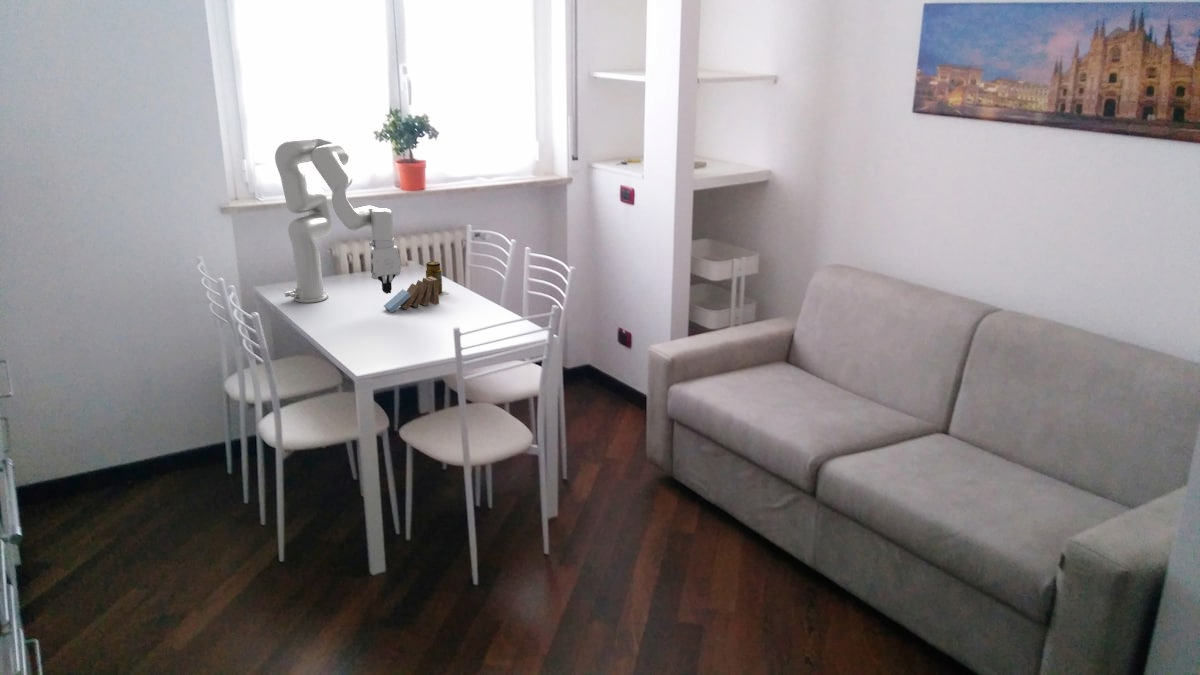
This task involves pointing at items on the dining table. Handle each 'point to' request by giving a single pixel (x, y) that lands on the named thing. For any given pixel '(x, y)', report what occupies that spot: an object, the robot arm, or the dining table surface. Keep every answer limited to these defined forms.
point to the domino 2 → (413, 292)
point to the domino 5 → (434, 291)
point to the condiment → (435, 274)
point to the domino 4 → (427, 291)
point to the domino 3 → (420, 294)
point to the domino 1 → (397, 300)
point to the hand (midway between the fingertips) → (387, 292)
